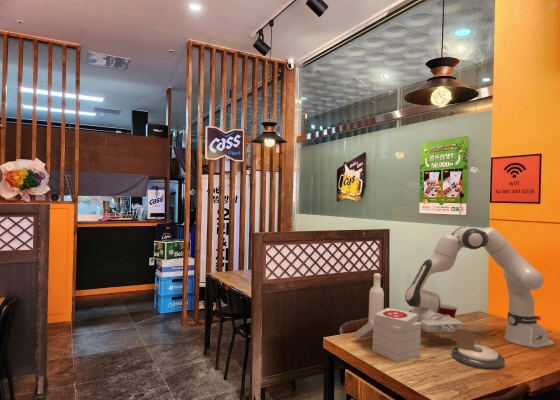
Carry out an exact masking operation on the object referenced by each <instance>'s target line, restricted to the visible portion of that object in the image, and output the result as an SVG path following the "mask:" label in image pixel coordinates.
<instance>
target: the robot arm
mask: <svg viewBox="0 0 560 400" xmlns="http://www.w3.org/2000/svg"><path fill="white" fill-rule="evenodd" d="M463 248H465V249H469V250H478V249H480V248H484V249H485V251H486V252H487V254H489V256H490V257H491V258H492V259H493V260H494V262H495V263H496V264H497V265H498V266H499V267H501V268H502V269H503V270H502V271H503V272H502V275H503V276H504V278H505V282H506V287H507V291H508V311H507V322H506V329H505V333H504V340H505V341H508V342H509V343H512V344H515V345H519V346H525V347H529V348H535V349H538V348H543V347H548V346H552V345H554V344H555V343H554V341H553V340H551V339H549V335H548V331H547V329H545V328H544V327H543V326H541V324H539V323H538V321H541V320H542V317H541V316H539V315H535V297H534V296H533V294H532V291H535V290H536V291H537V290H539V289H541V288H542V286H543V285H544V281H545V280H544V276H543V274H542V273H541V272H539V271H538V270H537V269H536V268H535V267H534V266H532V264H531V263H530V262H528V261H527V260H526V258H524V257H523V256H522V255H521V254H519V252H518V251H517V250H516V249H515V248H514V247H513V246H512V244H510V242H509V241H508V239H506V237H505V236H503V234H501V233H500V231H499V230H497V229H496V228H494V227H491V226H489V227H488V226H487V227H484V228H483V229H481V230H480V229H477V228H474V227H471V226H461V227H458V228H456V229H455V230H454V231H453V232H452V233H451V234H450V233H447V234H446V233H445V234H443V235H441V237H440V239H439V240H438V241H437V243H436V246H435V249H434V251H433V254H432V255H431V256H430V257H429V258H428V259H427V260H424V261H423V263H422V264H421V266H420V268H419V270H418V271H417V273H416V275H415V277H414V279H413V280H412V283H411V284H410V286H409V287H408V288H407V290H406V291H405V294H404V298H405V302H406V303H407V304H408V306H409V307H412V308H411V309H410V312H411V313H415V314H418V321H417V322H418V323H421V329H422V330H424V331H425V332H427V333H431V332H432V333H433V332H447V333H455V331H457V328H463V322H462V321H460V320H458V319H456V317H455V318H452V317H450V315H446V314H439V308H440V305H441V298H440V296H439V294H438V293H436V292H432V291H429V290H426V289H423V288H424V286H425V284H426V282H427V280H428V278H429V277H430V276H431V275H433V274H435V273H442V272H447V271H450V270H451V269H452V268H453V266H454V265H455V263H456V260H457V257H458V253H459V251H461V249H463Z"/></svg>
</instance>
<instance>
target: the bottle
mask: <svg viewBox="0 0 560 400" xmlns="http://www.w3.org/2000/svg"><path fill="white" fill-rule="evenodd" d="M381 277H382V276H381V273H377V272H376V273H373V286H372V287H371V288H370V290H369V294H368V295H369V298H368V322H370V321H373V319H375V314H376V313H378V312H380V311H382V310H384V305H385V303H384V302H385V301H384V298H385V293H384V290H383V289H384V288H382V287H381Z"/></svg>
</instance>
